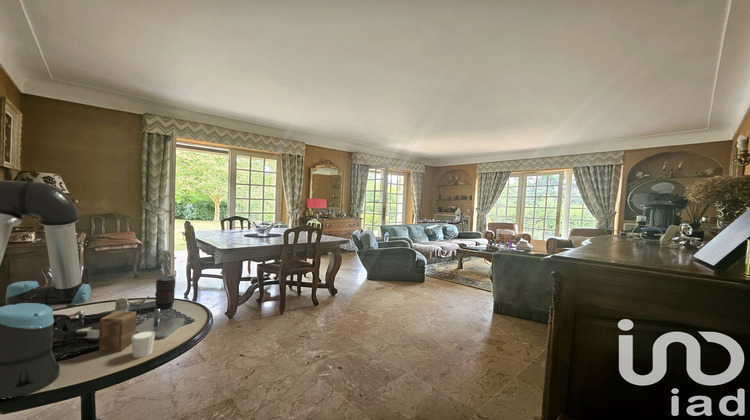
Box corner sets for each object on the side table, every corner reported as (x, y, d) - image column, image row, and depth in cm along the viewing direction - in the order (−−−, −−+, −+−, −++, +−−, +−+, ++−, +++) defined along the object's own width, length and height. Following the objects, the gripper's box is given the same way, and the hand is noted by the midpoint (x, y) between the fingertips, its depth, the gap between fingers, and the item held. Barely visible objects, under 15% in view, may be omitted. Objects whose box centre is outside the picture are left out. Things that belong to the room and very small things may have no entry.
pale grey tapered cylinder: (144, 359, 104) (145, 339, 104) (125, 357, 105) (126, 338, 104) (158, 349, 111) (159, 331, 111) (141, 348, 111) (141, 330, 111)
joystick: (128, 337, 118) (129, 314, 118) (151, 323, 132) (151, 302, 132) (165, 338, 120) (166, 315, 120) (184, 323, 134) (184, 303, 134)
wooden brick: (99, 351, 108) (100, 318, 107) (114, 341, 115) (115, 311, 115) (120, 351, 108) (122, 319, 108) (135, 341, 116) (136, 311, 115)
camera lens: (164, 311, 146) (165, 281, 146) (150, 309, 148) (152, 279, 147) (178, 305, 154) (179, 277, 153) (165, 303, 156) (166, 275, 155)
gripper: (79, 321, 122) (135, 321, 125) (13, 352, 97) (84, 352, 100) (80, 303, 122) (135, 304, 125) (14, 329, 97) (85, 330, 100)
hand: (113, 325), depth 112 cm, fingers open, 13 cm apart
